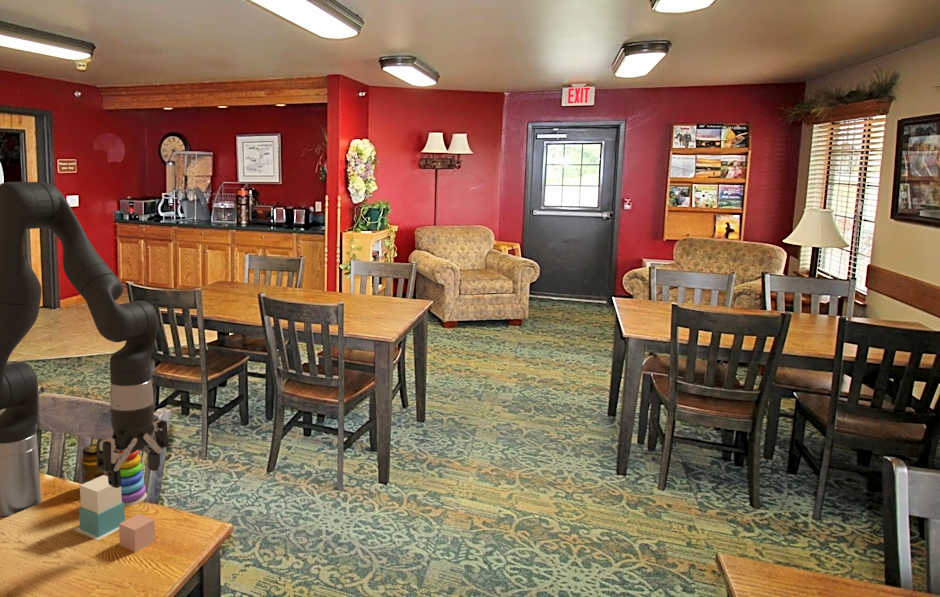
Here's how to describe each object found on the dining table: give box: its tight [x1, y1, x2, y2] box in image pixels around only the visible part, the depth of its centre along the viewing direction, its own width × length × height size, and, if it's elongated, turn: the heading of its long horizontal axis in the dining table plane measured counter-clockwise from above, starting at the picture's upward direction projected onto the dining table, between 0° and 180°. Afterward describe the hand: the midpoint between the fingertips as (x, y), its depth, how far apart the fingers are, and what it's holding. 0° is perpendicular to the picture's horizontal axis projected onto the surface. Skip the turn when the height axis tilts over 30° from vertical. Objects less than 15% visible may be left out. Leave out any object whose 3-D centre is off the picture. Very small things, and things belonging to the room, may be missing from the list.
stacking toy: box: [114, 450, 148, 508], centre depth 146 cm, size 8×8×19 cm
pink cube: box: [118, 513, 156, 553], centre depth 130 cm, size 5×5×5 cm
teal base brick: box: [78, 502, 126, 537], centre depth 135 cm, size 6×6×5 cm
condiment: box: [81, 443, 108, 484], centre depth 149 cm, size 7×8×12 cm
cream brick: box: [79, 475, 122, 514], centre depth 134 cm, size 5×5×5 cm
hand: (135, 478), depth 128 cm, fingers open, 8 cm apart
